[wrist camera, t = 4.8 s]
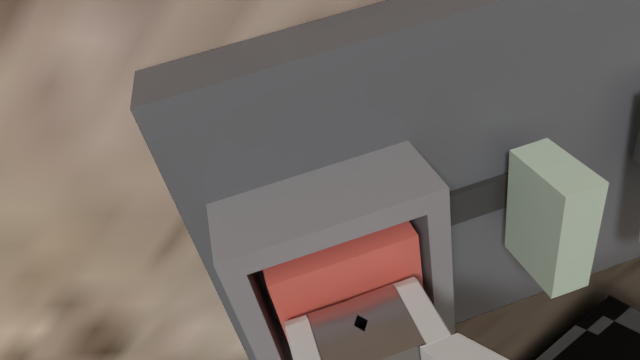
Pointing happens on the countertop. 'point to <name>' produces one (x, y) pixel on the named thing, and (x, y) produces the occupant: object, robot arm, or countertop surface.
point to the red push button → (344, 271)
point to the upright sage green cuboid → (553, 215)
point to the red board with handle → (601, 335)
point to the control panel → (394, 141)
